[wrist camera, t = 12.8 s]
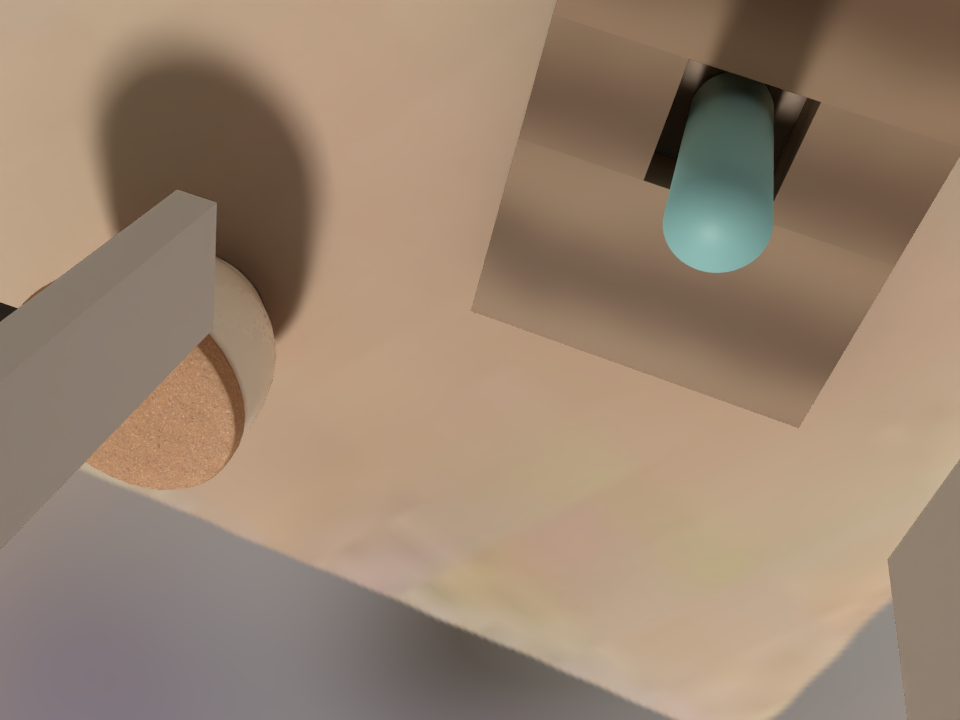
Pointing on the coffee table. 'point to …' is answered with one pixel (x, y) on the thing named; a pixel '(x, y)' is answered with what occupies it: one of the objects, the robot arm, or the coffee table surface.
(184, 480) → the lidded jar
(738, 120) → the peg
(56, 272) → the coffee table surface
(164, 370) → the robot arm
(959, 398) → the coffee table surface
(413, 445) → the coffee table surface
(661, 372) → the hole block
